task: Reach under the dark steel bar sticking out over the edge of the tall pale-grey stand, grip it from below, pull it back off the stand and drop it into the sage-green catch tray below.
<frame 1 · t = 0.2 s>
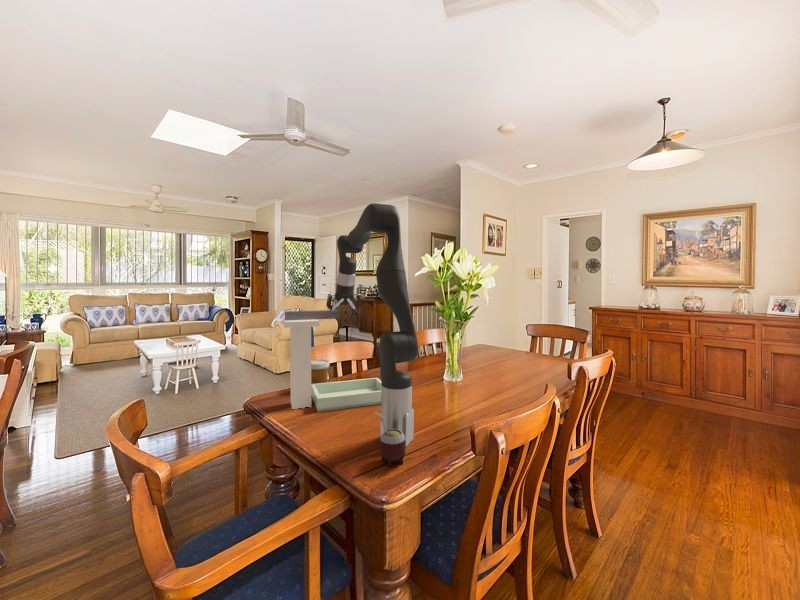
hand: (342, 316, 155), 32 cm above the table, tool tilted 20°, fingers open, 8 cm apart
bar: (312, 318, 133), point 33 cm above the table, touching stand
mate gourd: (390, 463, 94), on the table
stand: (300, 405, 134), on the table
tray: (350, 399, 141), on the table
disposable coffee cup: (318, 389, 153), on the table
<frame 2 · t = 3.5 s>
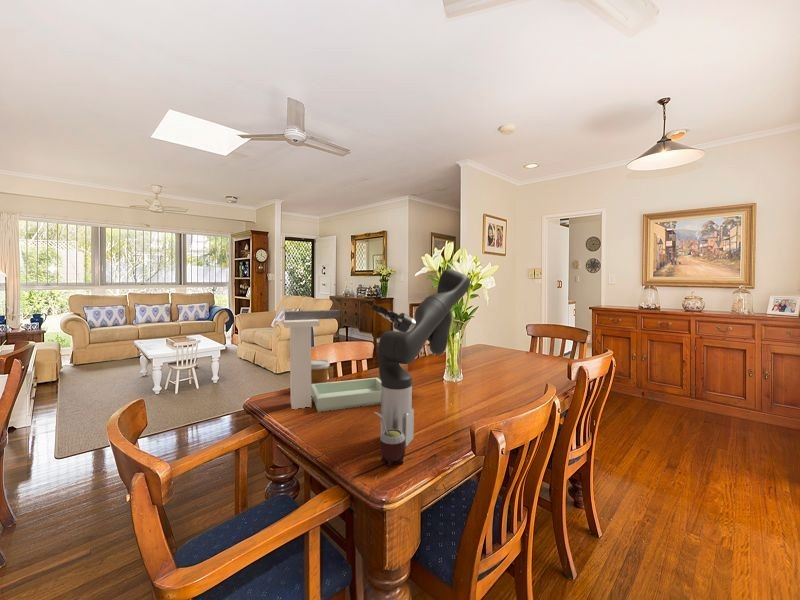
hand: (375, 307, 141), 37 cm above the table, tool pointing upward, fingers open, 8 cm apart
nothing on the table moved.
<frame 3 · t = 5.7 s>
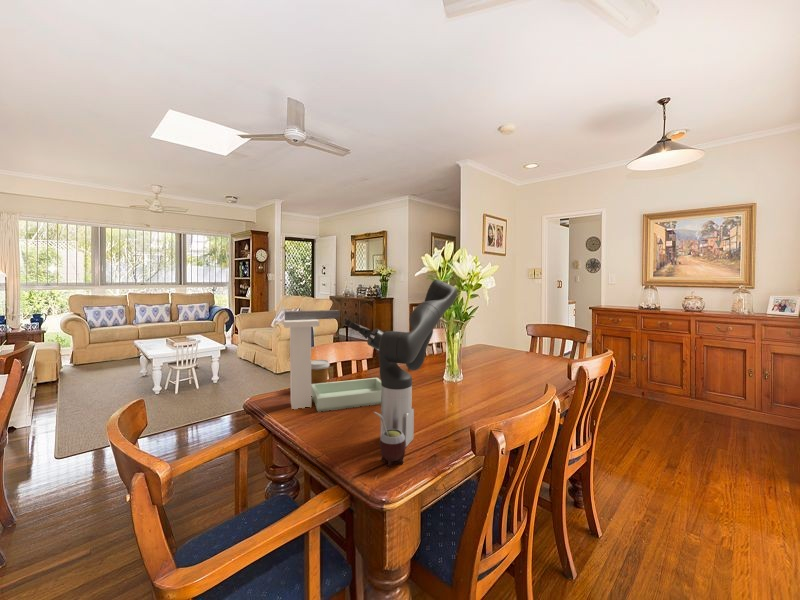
hand: (347, 322, 138), 31 cm above the table, tool pointing upward, fingers open, 8 cm apart
nothing on the table moved.
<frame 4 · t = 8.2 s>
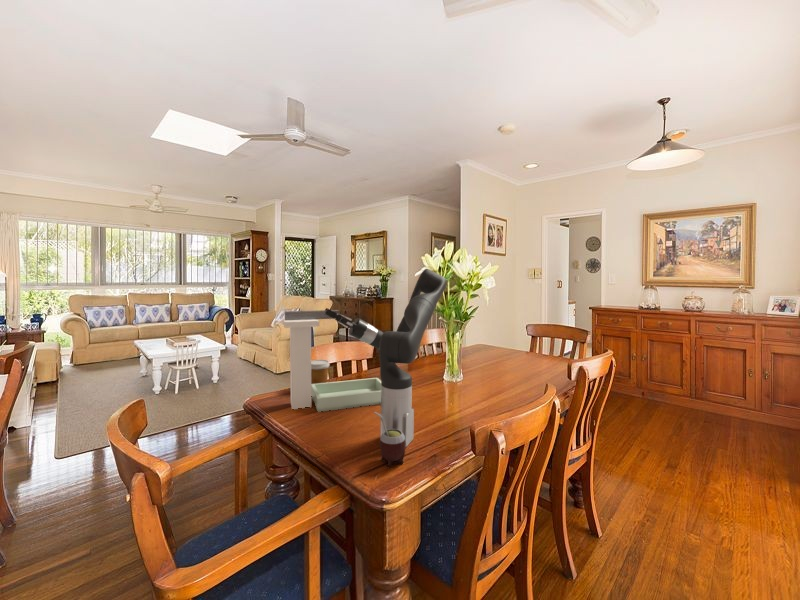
hand: (325, 310, 135), 36 cm above the table, tool pointing upward, fingers closed on bar, 3 cm apart
bar: (312, 318, 133), point 33 cm above the table, touching gripper, stand
everything else where it was.
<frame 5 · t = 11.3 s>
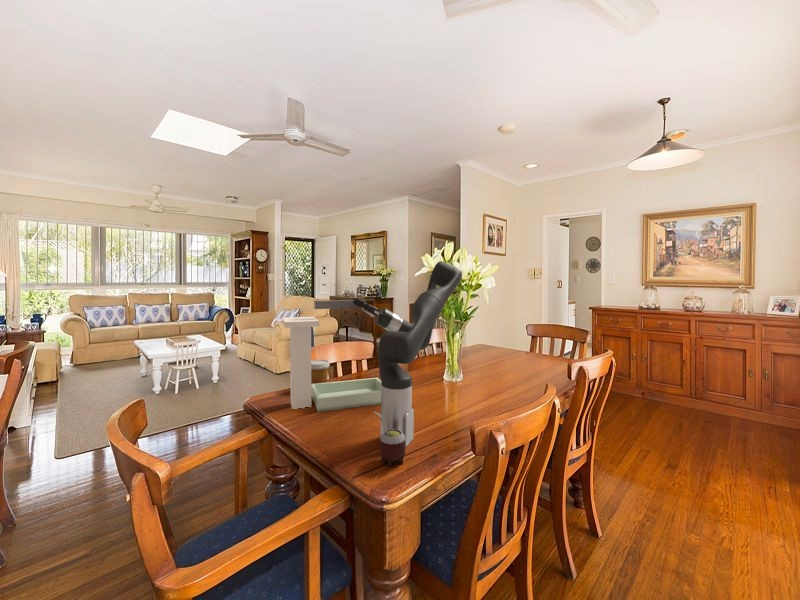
hand: (353, 300, 138), 40 cm above the table, tool pointing upward, fingers closed on bar, 3 cm apart
bar: (340, 308, 137), point 37 cm above the table, touching gripper
everything else where it was.
when the fingers open (26 cm above the table, at t = 14.6 s): bar drops 22 cm, resting on tray.
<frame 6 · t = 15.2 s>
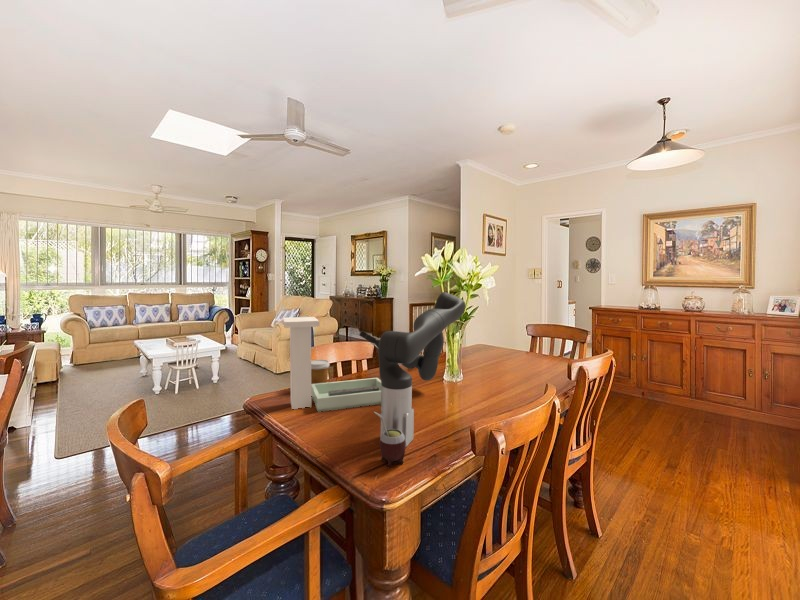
hand: (363, 334, 141), 26 cm above the table, tool pointing upward, fingers open, 8 cm apart
bar: (353, 397, 141), point 1 cm above the table, touching tray
everything else where it was.
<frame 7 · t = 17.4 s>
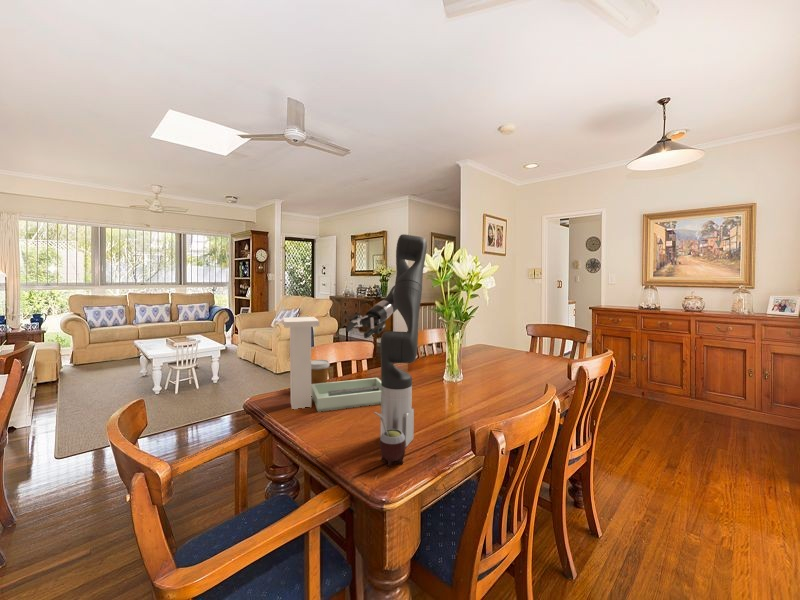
hand: (355, 333, 132), 28 cm above the table, tool tilted 65°, fingers open, 8 cm apart
nothing on the table moved.
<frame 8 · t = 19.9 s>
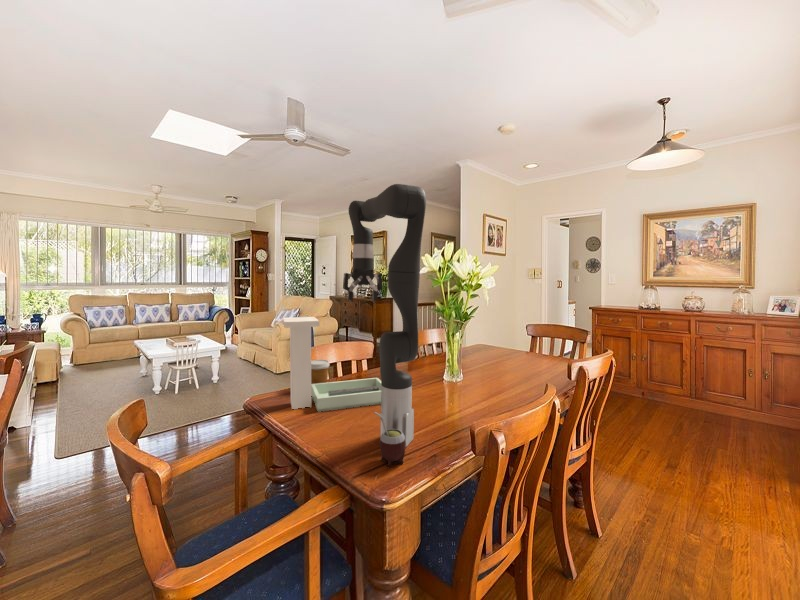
hand: (362, 301, 129), 40 cm above the table, tool pointing down, fingers open, 8 cm apart
nothing on the table moved.
at the end: bar inside the target area on the tray (1.5 cm from its centre), point 1.0 cm above the tray's base; the gripper is holding nothing; bar touching tray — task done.
